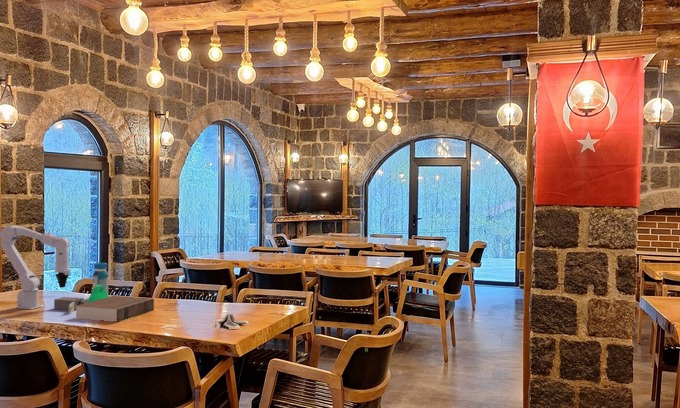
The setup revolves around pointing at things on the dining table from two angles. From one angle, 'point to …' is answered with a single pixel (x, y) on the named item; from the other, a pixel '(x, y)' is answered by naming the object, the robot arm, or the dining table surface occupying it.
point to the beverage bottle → (100, 276)
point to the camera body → (67, 302)
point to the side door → (71, 307)
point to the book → (114, 308)
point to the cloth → (228, 322)
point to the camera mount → (97, 293)
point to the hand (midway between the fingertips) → (62, 287)
